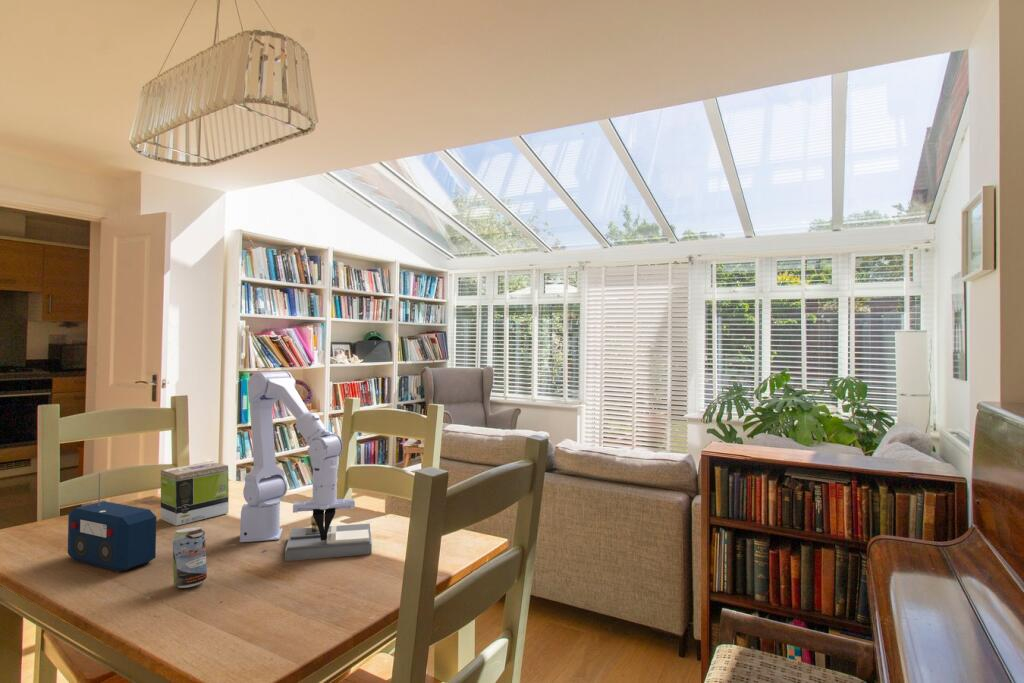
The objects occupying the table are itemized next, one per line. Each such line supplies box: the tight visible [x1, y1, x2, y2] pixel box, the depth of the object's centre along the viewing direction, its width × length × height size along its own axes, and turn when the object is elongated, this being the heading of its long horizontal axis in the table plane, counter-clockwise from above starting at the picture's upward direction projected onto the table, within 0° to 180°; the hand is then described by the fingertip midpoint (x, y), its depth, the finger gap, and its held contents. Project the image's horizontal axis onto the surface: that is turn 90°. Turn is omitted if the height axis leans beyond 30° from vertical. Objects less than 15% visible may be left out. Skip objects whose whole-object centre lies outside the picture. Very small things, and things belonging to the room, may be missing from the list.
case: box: [284, 523, 373, 562], centre depth 143 cm, size 20×16×3 cm
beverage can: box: [172, 525, 208, 589], centre depth 119 cm, size 6×7×12 cm
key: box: [310, 515, 318, 531], centre depth 149 cm, size 7×2×4 cm, turn 14°
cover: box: [327, 525, 369, 544], centre depth 140 cm, size 10×6×3 cm, turn 106°
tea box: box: [160, 460, 230, 527], centre depth 164 cm, size 15×10×15 cm
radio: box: [67, 473, 157, 573], centre depth 131 cm, size 21×9×20 cm, turn 68°
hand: (323, 539), depth 139 cm, fingers closed
